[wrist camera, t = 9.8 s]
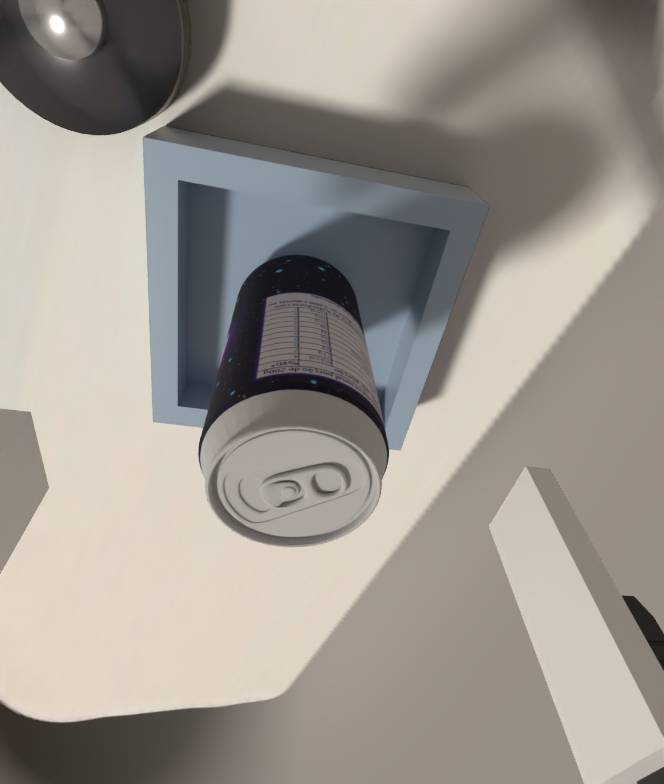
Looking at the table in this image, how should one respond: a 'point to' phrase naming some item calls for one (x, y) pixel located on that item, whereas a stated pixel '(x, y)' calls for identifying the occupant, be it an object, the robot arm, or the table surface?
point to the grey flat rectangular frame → (94, 59)
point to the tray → (296, 237)
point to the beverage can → (294, 410)
